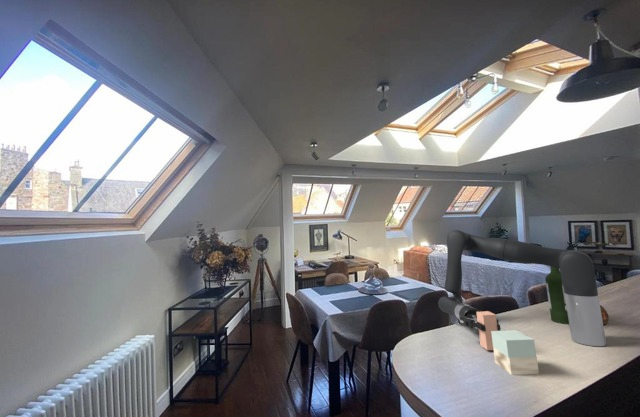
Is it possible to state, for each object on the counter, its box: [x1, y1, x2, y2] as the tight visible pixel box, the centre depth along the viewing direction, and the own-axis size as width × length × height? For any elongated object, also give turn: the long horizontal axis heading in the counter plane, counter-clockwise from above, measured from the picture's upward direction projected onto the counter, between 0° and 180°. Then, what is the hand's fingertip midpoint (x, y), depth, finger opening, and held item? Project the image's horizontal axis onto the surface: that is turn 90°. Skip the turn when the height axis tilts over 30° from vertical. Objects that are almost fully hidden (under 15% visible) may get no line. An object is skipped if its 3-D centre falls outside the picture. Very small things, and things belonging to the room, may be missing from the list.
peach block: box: [476, 310, 498, 351], centre depth 98 cm, size 4×4×12 cm
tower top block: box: [491, 329, 537, 358], centre depth 84 cm, size 8×8×5 cm
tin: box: [600, 304, 610, 325], centre depth 120 cm, size 15×3×8 cm, turn 168°
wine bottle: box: [544, 266, 569, 325], centre depth 123 cm, size 8×8×30 cm
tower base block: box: [493, 347, 540, 376], centre depth 84 cm, size 8×8×5 cm
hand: (491, 328), depth 95 cm, fingers closed on peach block, 4 cm apart
